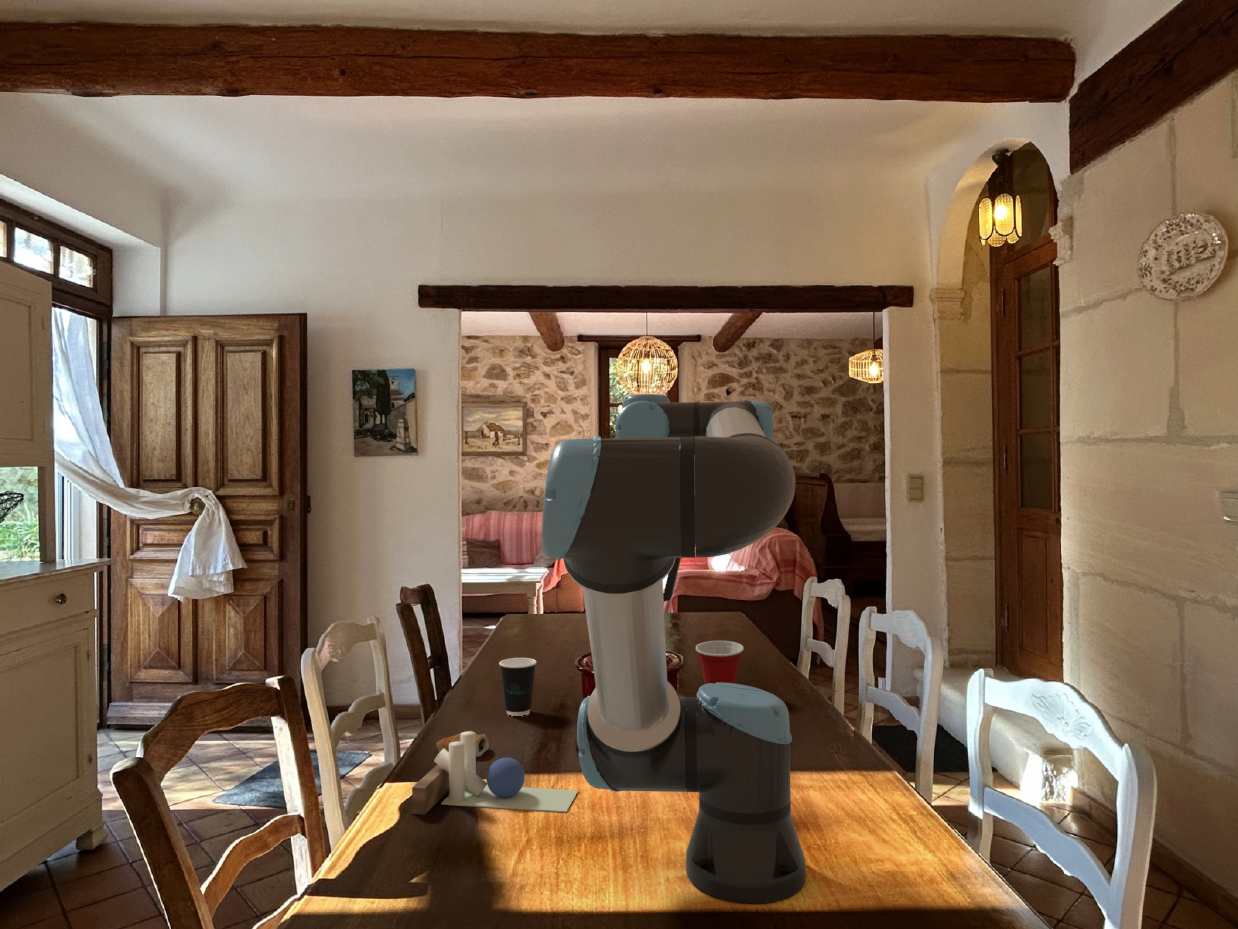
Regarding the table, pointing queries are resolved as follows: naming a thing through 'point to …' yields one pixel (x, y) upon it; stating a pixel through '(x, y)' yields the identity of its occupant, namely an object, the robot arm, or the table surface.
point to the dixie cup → (518, 684)
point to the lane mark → (521, 800)
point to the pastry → (480, 741)
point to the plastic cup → (719, 661)
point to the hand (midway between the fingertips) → (648, 645)
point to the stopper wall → (429, 790)
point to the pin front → (471, 778)
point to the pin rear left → (469, 750)
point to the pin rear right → (456, 772)
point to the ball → (505, 777)
